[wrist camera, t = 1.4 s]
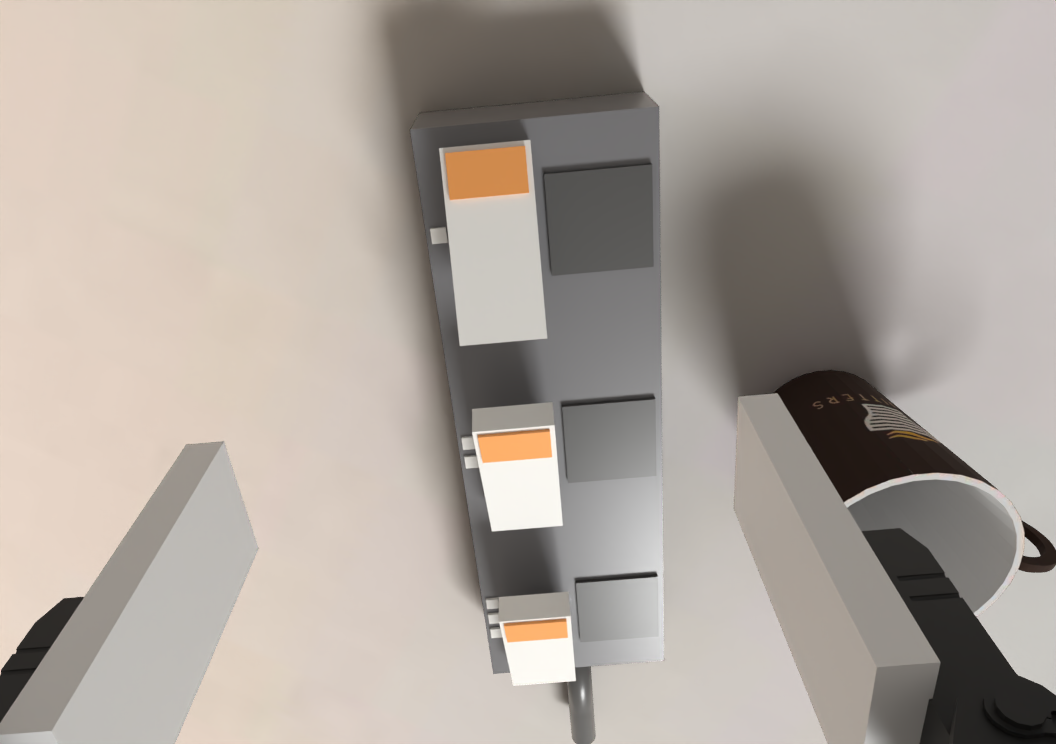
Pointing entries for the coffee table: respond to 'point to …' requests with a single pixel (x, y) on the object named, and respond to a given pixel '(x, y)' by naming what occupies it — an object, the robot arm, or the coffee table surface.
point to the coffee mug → (913, 485)
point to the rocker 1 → (494, 242)
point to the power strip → (572, 372)
